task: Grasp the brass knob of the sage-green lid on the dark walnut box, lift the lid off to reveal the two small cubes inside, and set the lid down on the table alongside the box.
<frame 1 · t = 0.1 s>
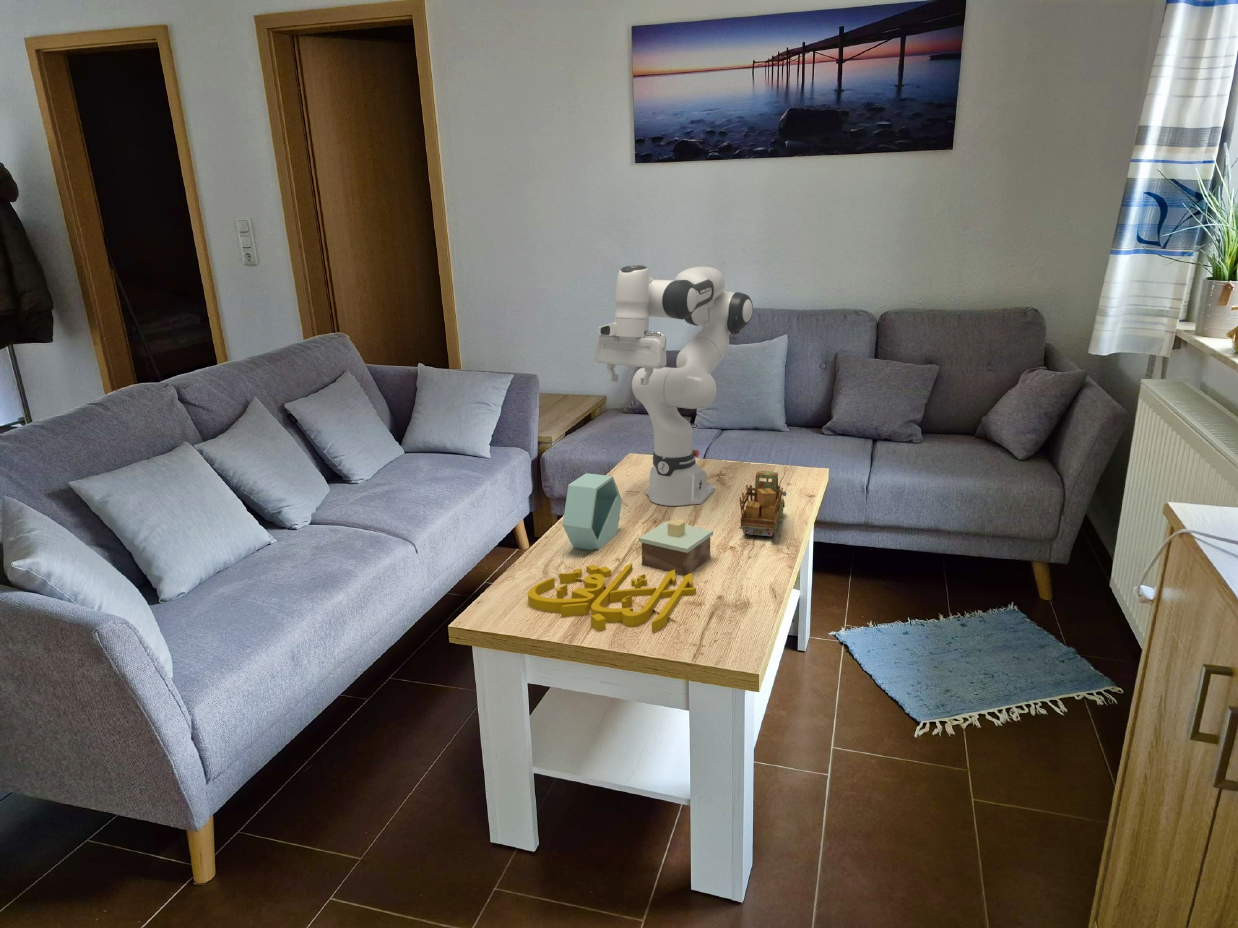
hand: (629, 383, 222), 39 cm above the table, tool pointing down, fingers open, 8 cm apart
toy truck: (763, 528, 228), on the table
lid: (676, 538, 203), point 7 cm above the table, touching walnut box
walnut box: (676, 565, 205), on the table
terracotta cube: (679, 566, 202), point 1 cm above the table, touching walnut box
decorative art: (612, 601, 188), on the table
cream cube: (672, 556, 208), point 1 cm above the table, touching walnut box
planter: (594, 544, 219), on the table
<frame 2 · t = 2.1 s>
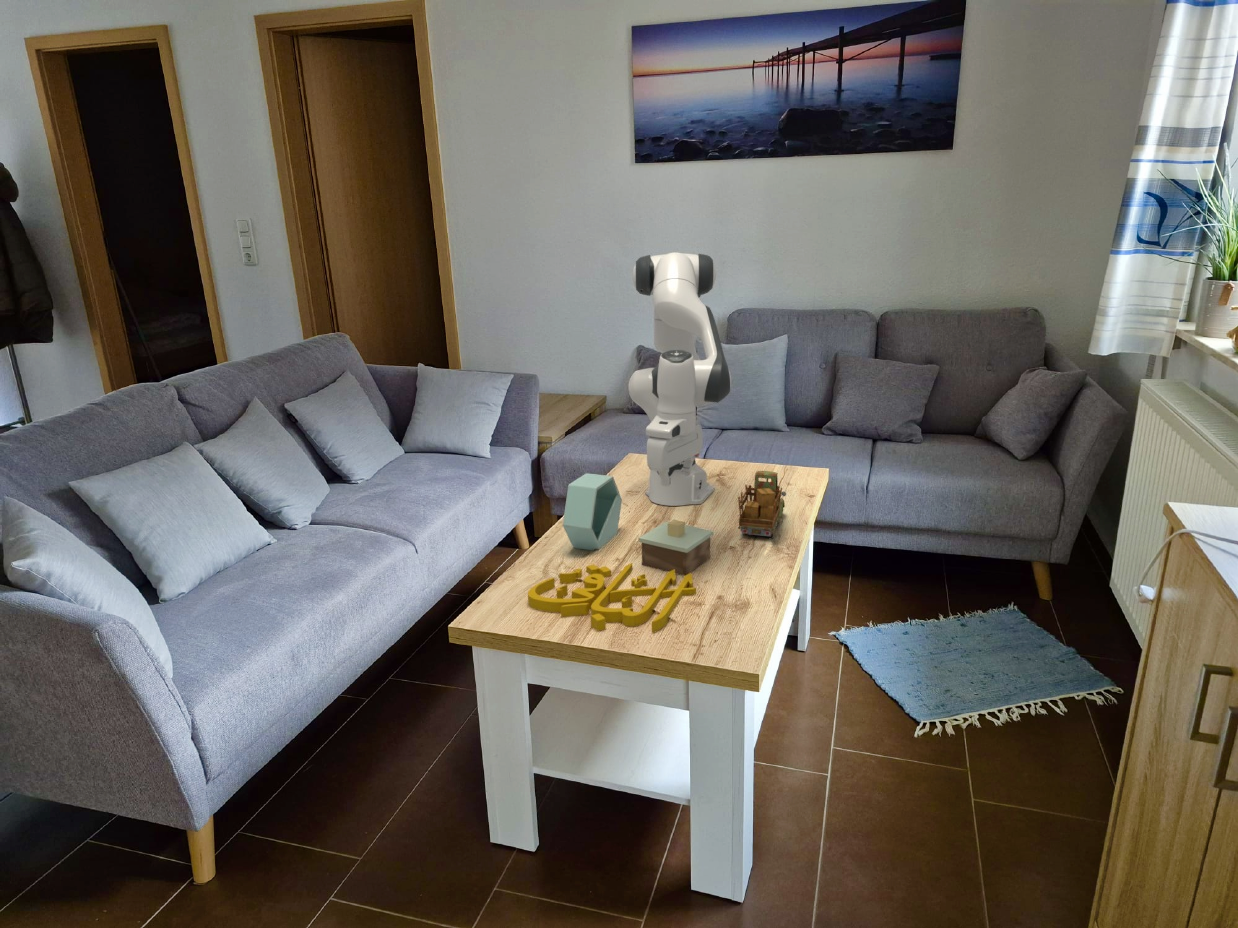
hand: (676, 480, 199), 22 cm above the table, tool pointing down, fingers open, 8 cm apart
nothing on the table moved.
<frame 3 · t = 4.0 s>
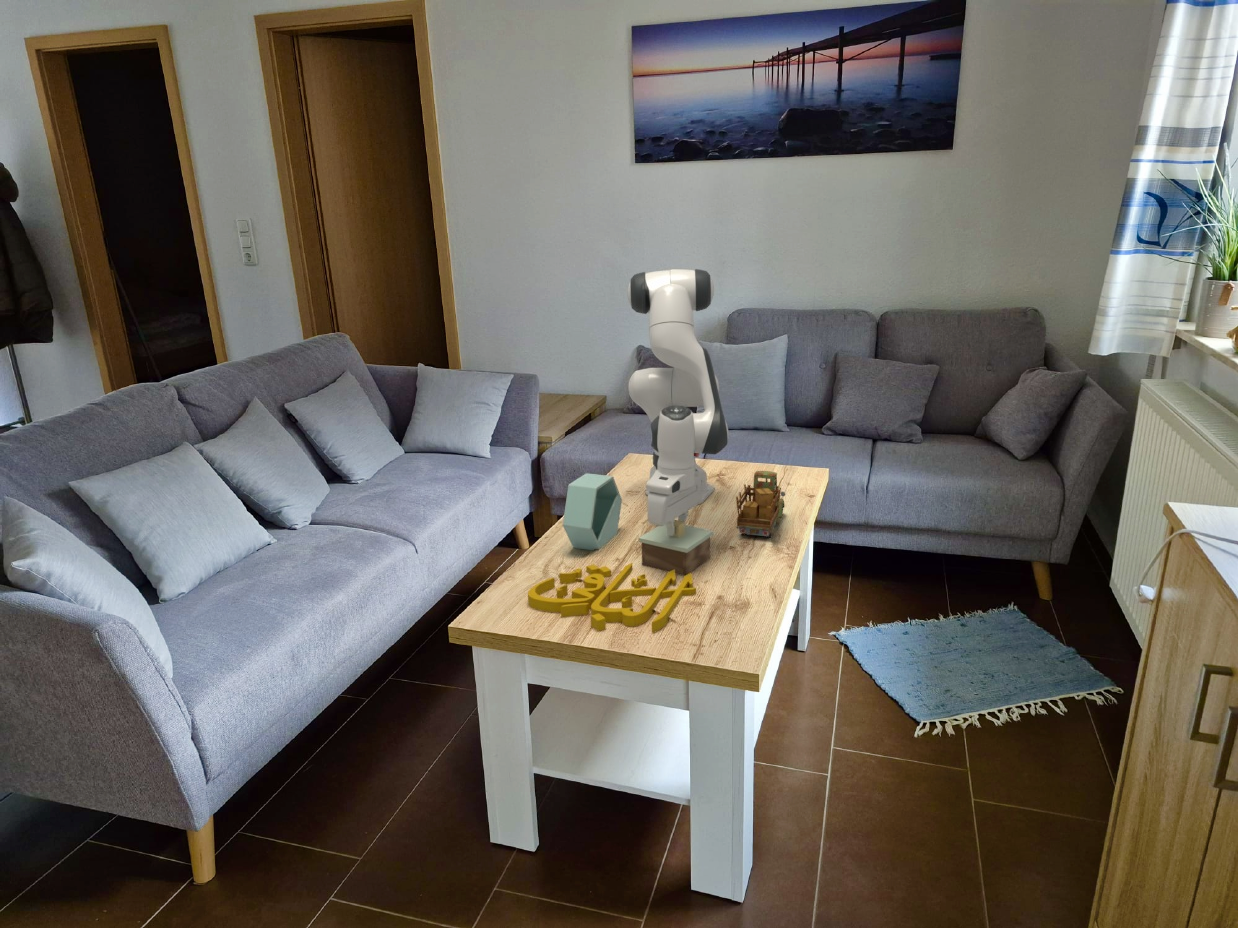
hand: (676, 531, 202), 9 cm above the table, tool pointing down, fingers closed on lid, 3 cm apart
lid: (676, 538, 203), point 7 cm above the table, touching gripper, walnut box
everything else where it was.
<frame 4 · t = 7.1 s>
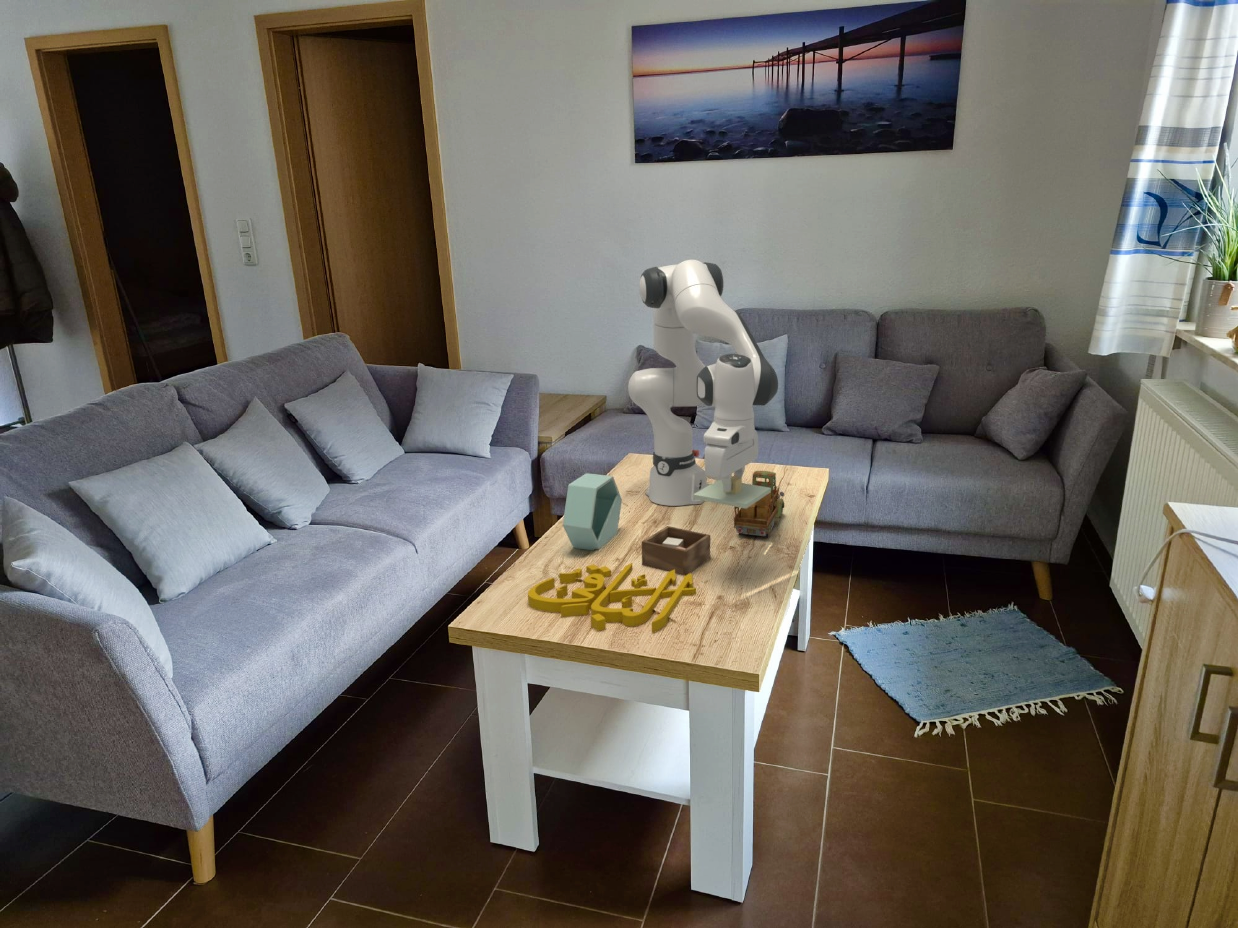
hand: (732, 488, 192), 22 cm above the table, tool pointing down, fingers closed on lid, 3 cm apart
lid: (732, 495, 192), point 20 cm above the table, touching gripper
everything else where it was.
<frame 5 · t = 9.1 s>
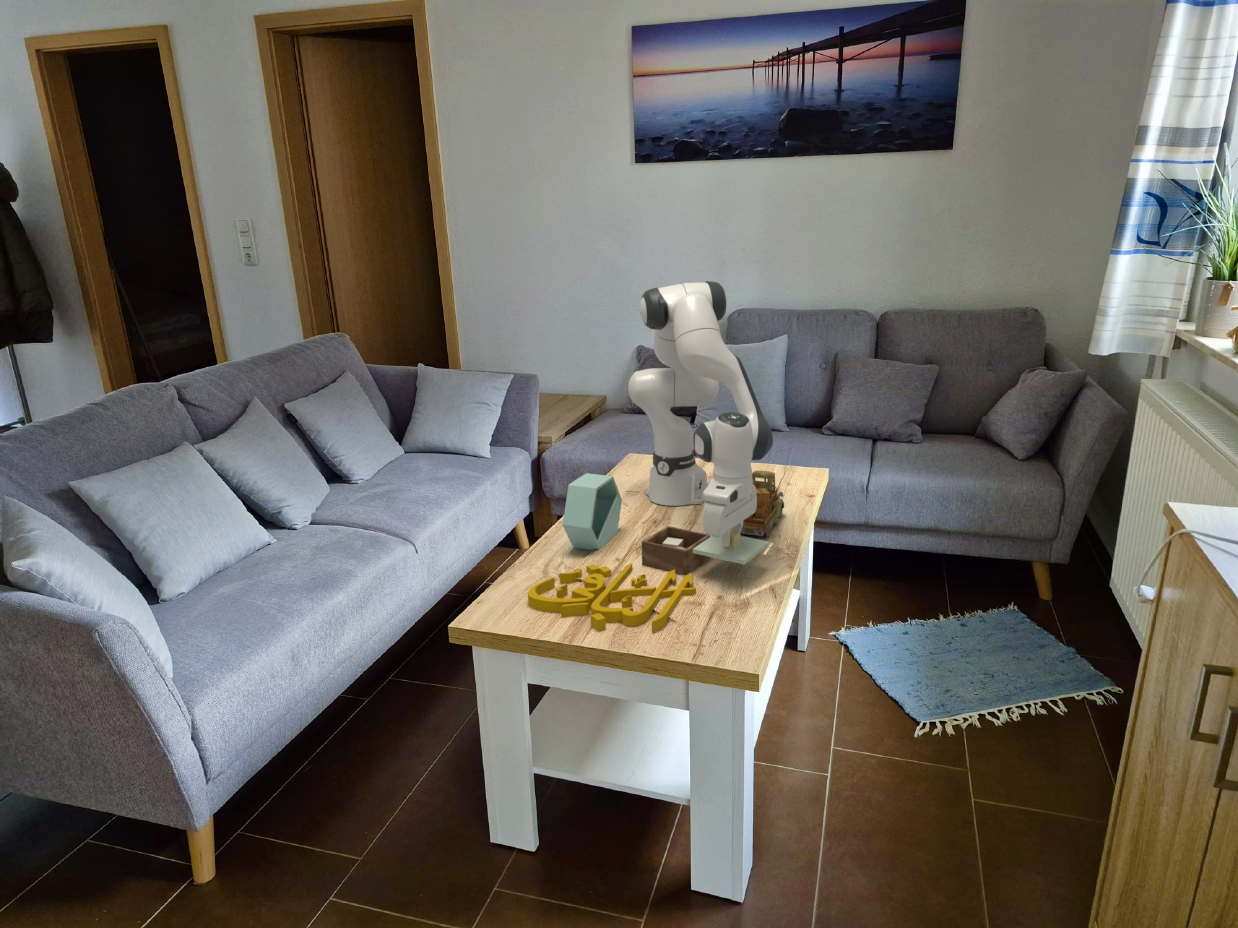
hand: (731, 542, 196), 9 cm above the table, tool pointing down, fingers closed on lid, 3 cm apart
lid: (731, 549, 196), point 7 cm above the table, touching gripper
when the fingers open (4 cm above the table, at t = 10.5 s): lid drops 3 cm, on the table.
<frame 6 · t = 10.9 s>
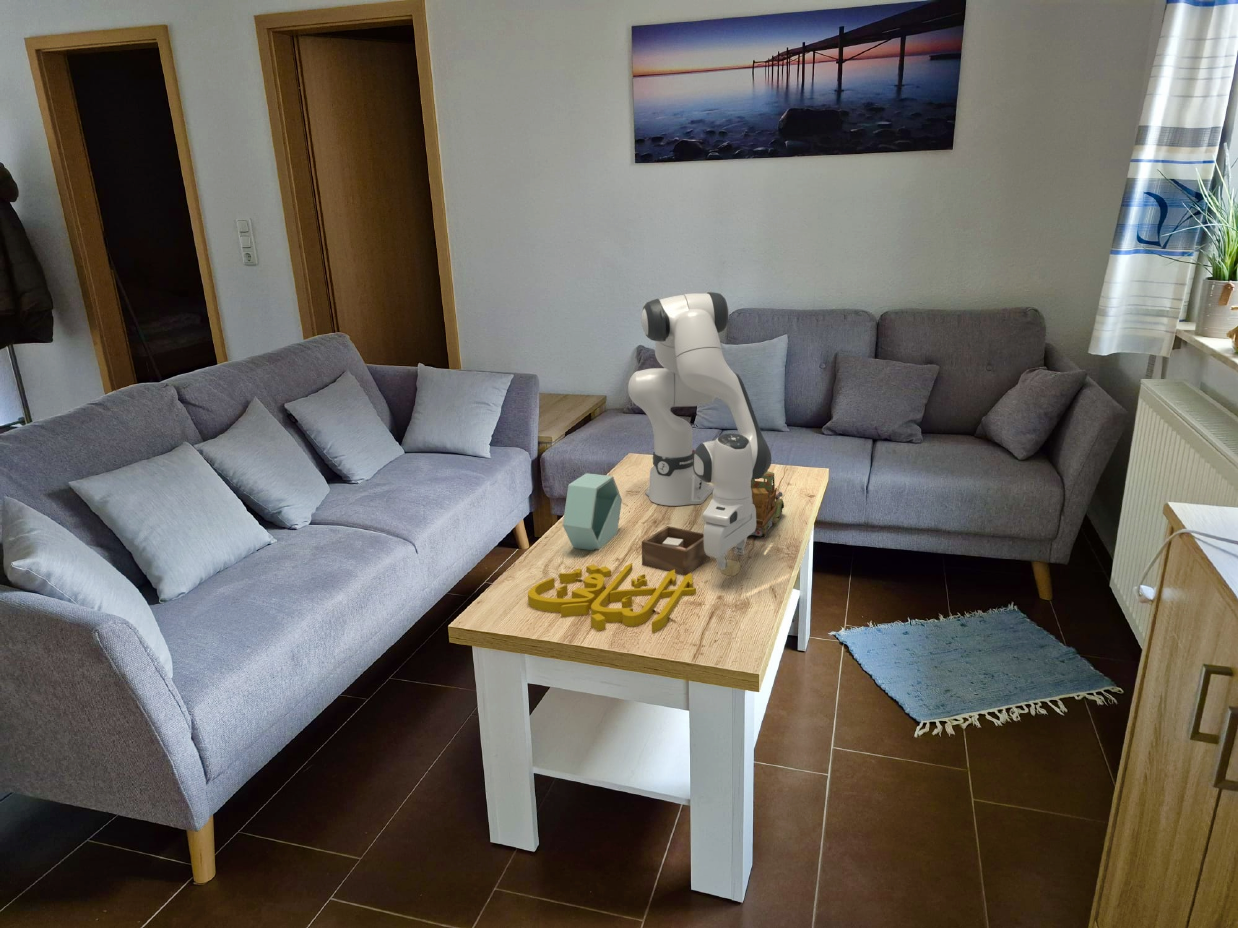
hand: (730, 561, 197), 4 cm above the table, tool pointing down, fingers open, 7 cm apart
lid: (730, 578, 198), on the table
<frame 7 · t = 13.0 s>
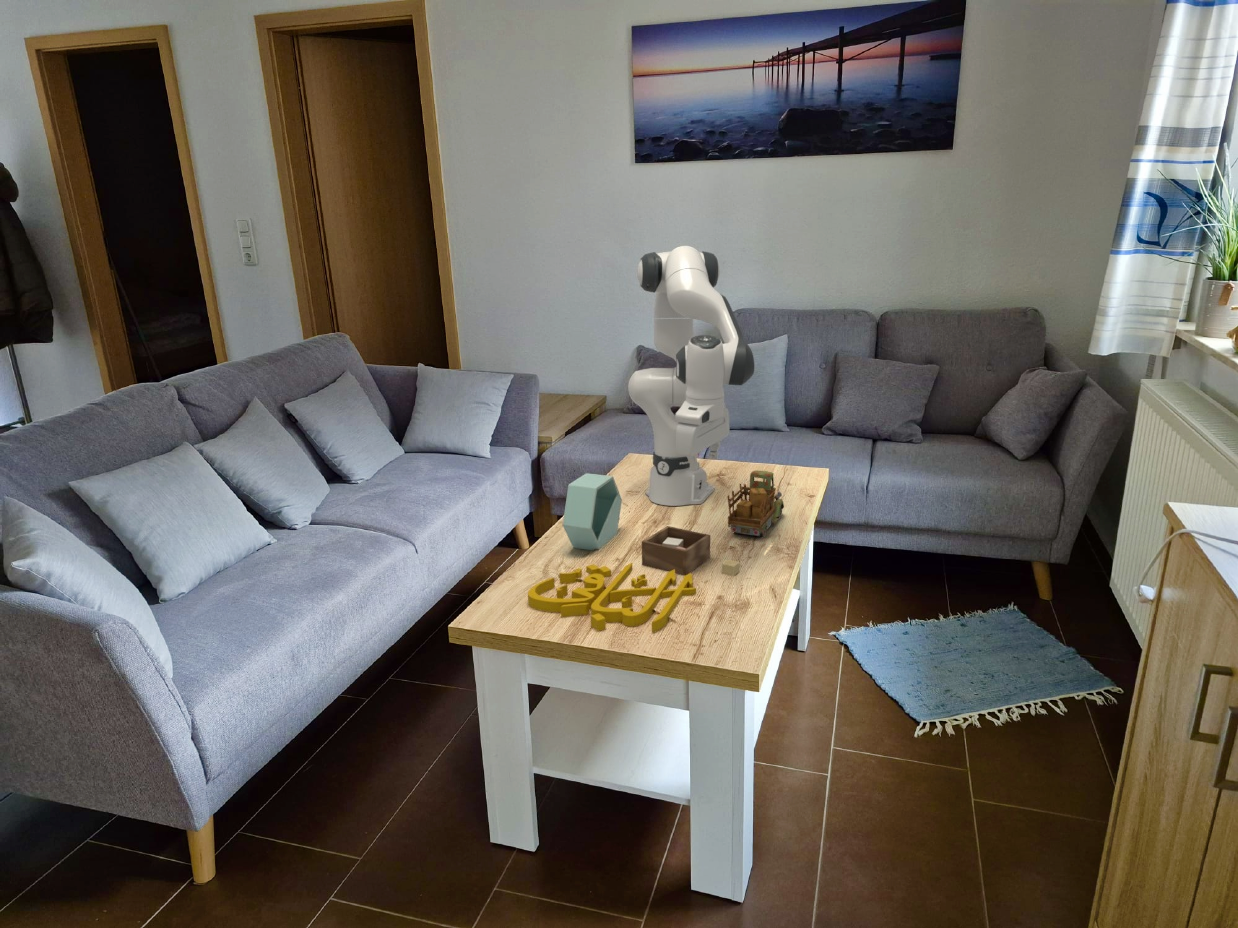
hand: (704, 464, 200), 25 cm above the table, tool pointing down, fingers open, 8 cm apart
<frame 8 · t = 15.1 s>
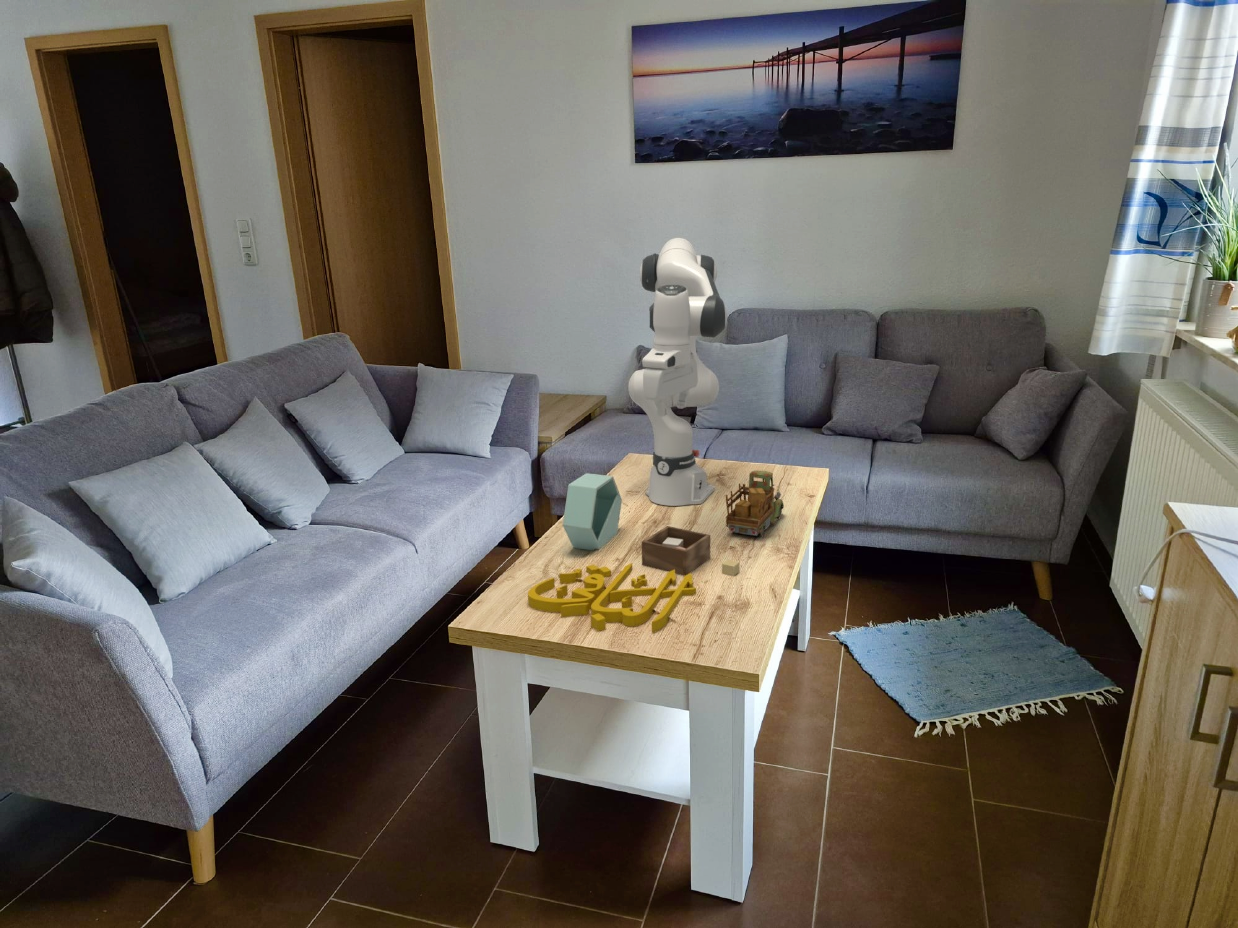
hand: (671, 411, 206), 35 cm above the table, tool pointing down, fingers open, 8 cm apart
at the end: lid inside the target area (0.5 cm from its centre), on the table; lid touching table; the gripper is holding nothing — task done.
